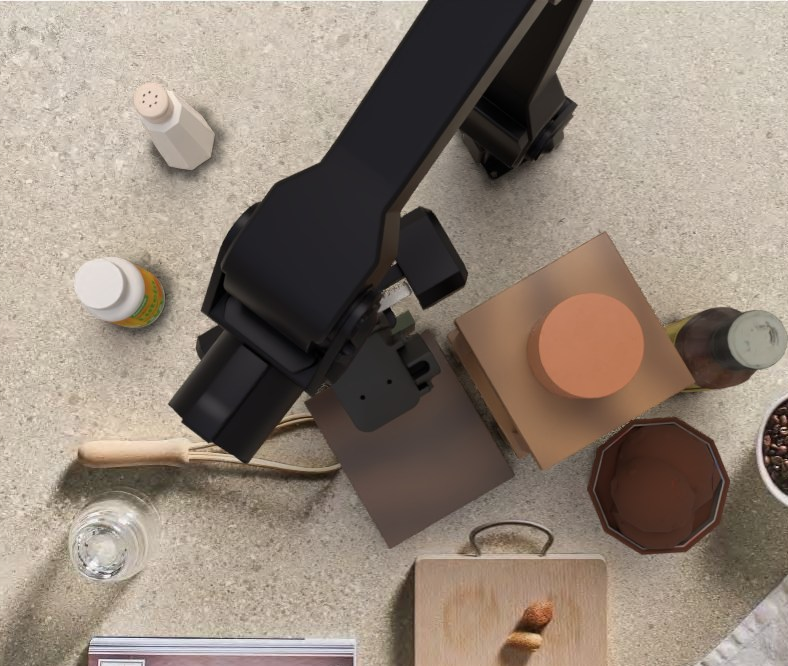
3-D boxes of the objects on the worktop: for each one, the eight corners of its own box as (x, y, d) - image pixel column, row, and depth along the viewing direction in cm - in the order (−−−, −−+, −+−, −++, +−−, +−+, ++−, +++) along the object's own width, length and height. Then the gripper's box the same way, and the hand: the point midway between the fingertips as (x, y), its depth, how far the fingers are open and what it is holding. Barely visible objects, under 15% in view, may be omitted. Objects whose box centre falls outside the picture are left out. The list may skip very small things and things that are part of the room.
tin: (592, 285, 55) (610, 273, 50) (641, 368, 55) (664, 364, 50) (508, 333, 55) (518, 326, 50) (557, 416, 55) (572, 417, 50)
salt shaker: (227, 132, 79) (197, 88, 68) (195, 182, 79) (160, 147, 68) (176, 100, 79) (139, 51, 68) (144, 151, 79) (101, 110, 68)
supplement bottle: (159, 334, 79) (124, 324, 69) (101, 322, 79) (58, 310, 69) (171, 275, 79) (138, 257, 69) (113, 263, 79) (72, 243, 69)
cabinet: (315, 402, 79) (303, 402, 70) (426, 336, 79) (429, 328, 70) (391, 533, 78) (389, 549, 70) (504, 468, 78) (515, 476, 70)
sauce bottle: (722, 336, 78) (829, 312, 58) (700, 402, 78) (798, 401, 58) (652, 311, 78) (734, 280, 58) (629, 378, 78) (704, 369, 58)
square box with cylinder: (547, 283, 78) (606, 230, 55) (610, 389, 78) (696, 382, 55) (441, 345, 79) (454, 319, 55) (503, 451, 78) (543, 471, 55)
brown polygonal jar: (651, 560, 78) (707, 597, 63) (543, 493, 78) (575, 514, 63) (714, 459, 78) (786, 471, 63) (607, 392, 78) (653, 389, 63)
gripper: (255, 491, 53) (291, 471, 69) (522, 336, 53) (497, 351, 69) (163, 333, 53) (219, 349, 69) (428, 177, 53) (425, 228, 69)
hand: (342, 322), depth 69 cm, fingers closed
